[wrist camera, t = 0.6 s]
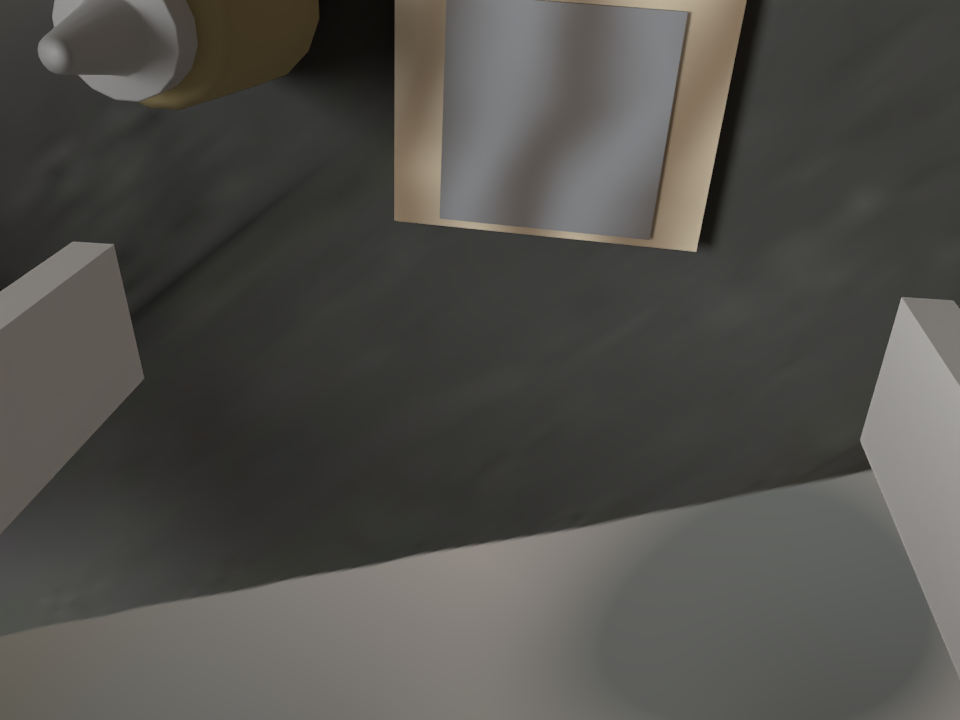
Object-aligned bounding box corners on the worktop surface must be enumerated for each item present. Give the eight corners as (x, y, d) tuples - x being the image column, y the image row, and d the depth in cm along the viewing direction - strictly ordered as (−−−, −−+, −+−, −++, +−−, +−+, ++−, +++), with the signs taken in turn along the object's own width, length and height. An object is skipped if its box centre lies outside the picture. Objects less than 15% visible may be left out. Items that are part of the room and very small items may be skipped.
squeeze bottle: (150, -47, 42) (-123, 5, 26) (274, -147, 39) (49, -155, 23) (251, 98, 45) (60, 222, 29) (374, 16, 42) (233, 105, 26)
